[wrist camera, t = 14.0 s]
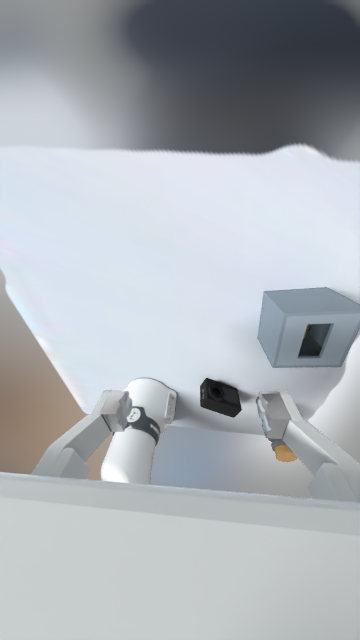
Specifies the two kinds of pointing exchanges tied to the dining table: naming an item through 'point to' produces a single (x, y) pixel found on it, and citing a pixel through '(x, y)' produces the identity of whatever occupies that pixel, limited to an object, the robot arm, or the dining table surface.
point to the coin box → (291, 322)
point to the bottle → (281, 449)
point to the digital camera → (219, 398)
